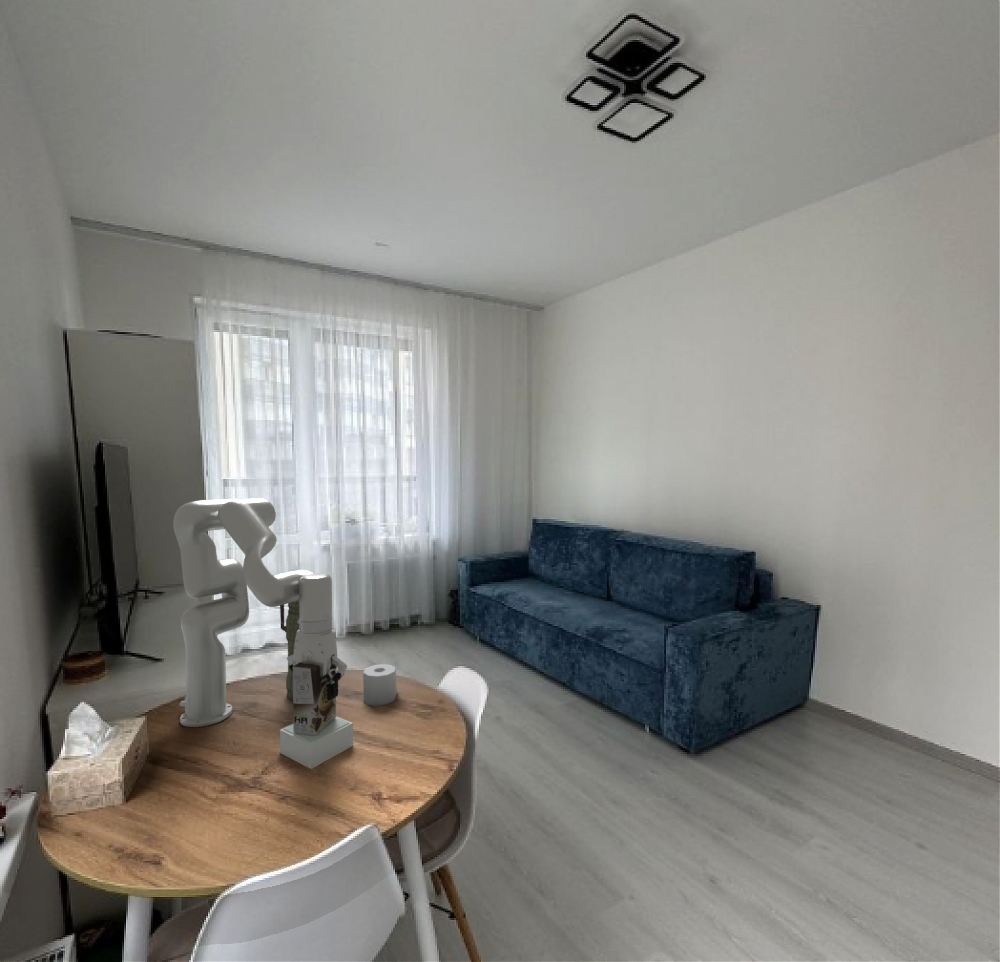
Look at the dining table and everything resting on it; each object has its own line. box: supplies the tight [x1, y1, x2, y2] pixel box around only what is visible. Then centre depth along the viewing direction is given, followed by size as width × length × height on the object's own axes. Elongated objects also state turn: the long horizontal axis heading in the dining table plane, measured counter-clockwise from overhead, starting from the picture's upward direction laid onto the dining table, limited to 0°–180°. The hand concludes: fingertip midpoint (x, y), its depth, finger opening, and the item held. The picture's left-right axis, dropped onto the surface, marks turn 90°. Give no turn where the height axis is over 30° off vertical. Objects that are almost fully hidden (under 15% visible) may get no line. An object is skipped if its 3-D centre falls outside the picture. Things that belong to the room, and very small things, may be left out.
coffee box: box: [292, 663, 337, 736], centre depth 124 cm, size 9×6×16 cm
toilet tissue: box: [362, 663, 398, 707], centre depth 155 cm, size 9×13×9 cm
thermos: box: [279, 601, 300, 701], centre depth 156 cm, size 9×12×35 cm
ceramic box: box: [279, 715, 354, 770], centre depth 125 cm, size 12×12×6 cm
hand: (316, 694), depth 125 cm, fingers open, 9 cm apart
